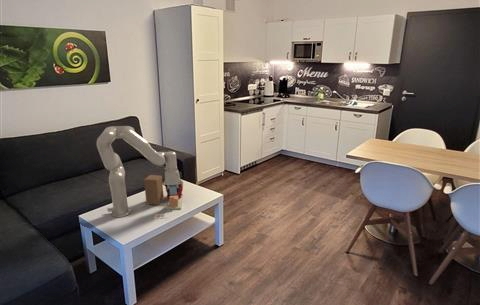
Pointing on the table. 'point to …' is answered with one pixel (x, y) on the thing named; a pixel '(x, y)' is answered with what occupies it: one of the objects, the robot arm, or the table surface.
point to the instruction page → (160, 216)
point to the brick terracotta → (173, 201)
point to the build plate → (174, 207)
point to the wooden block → (153, 189)
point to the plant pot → (177, 193)
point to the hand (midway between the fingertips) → (173, 192)
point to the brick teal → (173, 189)
